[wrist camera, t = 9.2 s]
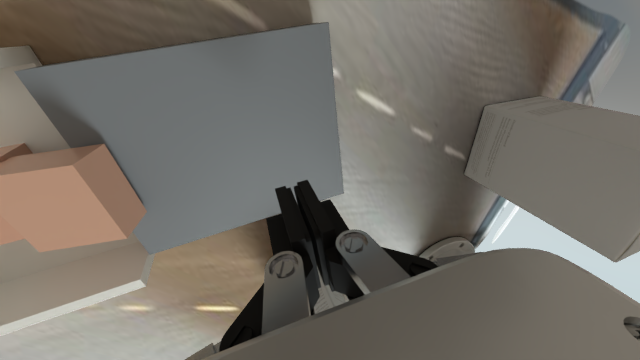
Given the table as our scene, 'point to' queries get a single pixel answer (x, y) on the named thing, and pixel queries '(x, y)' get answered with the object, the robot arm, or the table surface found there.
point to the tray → (63, 264)
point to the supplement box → (565, 168)
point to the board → (204, 125)
